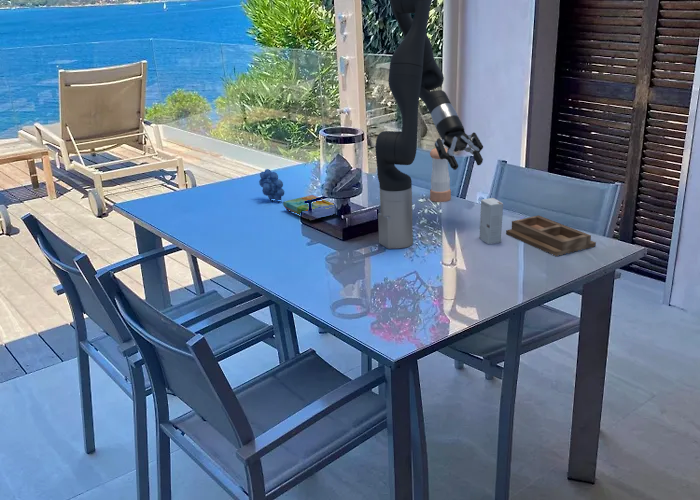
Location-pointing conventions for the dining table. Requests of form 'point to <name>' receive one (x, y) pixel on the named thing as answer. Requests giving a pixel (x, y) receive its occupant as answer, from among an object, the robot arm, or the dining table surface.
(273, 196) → the grapes
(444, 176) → the salt shaker
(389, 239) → the robot arm
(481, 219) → the skincare box
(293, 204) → the puzzle game
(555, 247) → the rack
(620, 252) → the dining table surface
